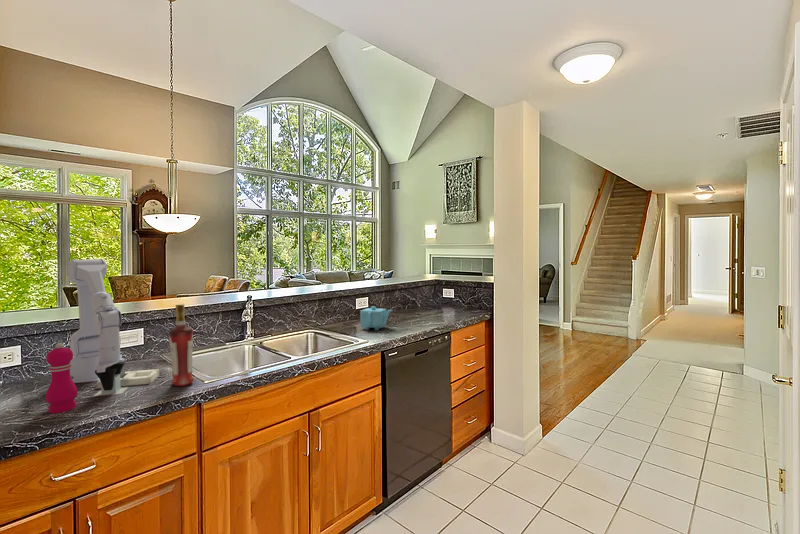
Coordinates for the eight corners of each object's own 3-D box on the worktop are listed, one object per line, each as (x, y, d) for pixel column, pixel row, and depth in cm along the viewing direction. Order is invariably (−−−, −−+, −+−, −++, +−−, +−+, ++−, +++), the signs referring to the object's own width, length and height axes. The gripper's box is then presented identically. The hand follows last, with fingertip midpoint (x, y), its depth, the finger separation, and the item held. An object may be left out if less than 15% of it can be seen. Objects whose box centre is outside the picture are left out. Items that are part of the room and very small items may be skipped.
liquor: (170, 383, 137) (167, 304, 136) (193, 379, 141) (190, 302, 140) (171, 389, 131) (168, 307, 130) (195, 385, 135) (193, 305, 134)
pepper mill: (59, 405, 119) (55, 340, 118) (84, 404, 119) (81, 339, 119) (39, 415, 112) (35, 346, 111) (66, 414, 112) (62, 345, 111)
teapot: (358, 330, 223) (358, 308, 223) (368, 325, 238) (368, 304, 238) (388, 332, 218) (388, 309, 218) (397, 326, 233) (396, 305, 232)
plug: (101, 394, 127) (100, 377, 127) (106, 390, 131) (106, 373, 130) (115, 392, 128) (115, 376, 128) (120, 388, 132) (120, 372, 132)
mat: (92, 397, 125) (92, 396, 125) (101, 390, 131) (101, 389, 131) (121, 394, 128) (121, 393, 128) (128, 387, 133) (128, 387, 133)
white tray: (96, 389, 132) (96, 371, 132) (109, 379, 142) (108, 363, 142) (150, 384, 137) (150, 367, 137) (159, 375, 147) (158, 359, 146)
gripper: (114, 351, 123) (116, 393, 123) (131, 341, 137) (133, 379, 137) (87, 353, 121) (89, 396, 121) (107, 342, 135) (109, 381, 135)
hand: (111, 387), depth 129 cm, fingers closed on plug, 4 cm apart
